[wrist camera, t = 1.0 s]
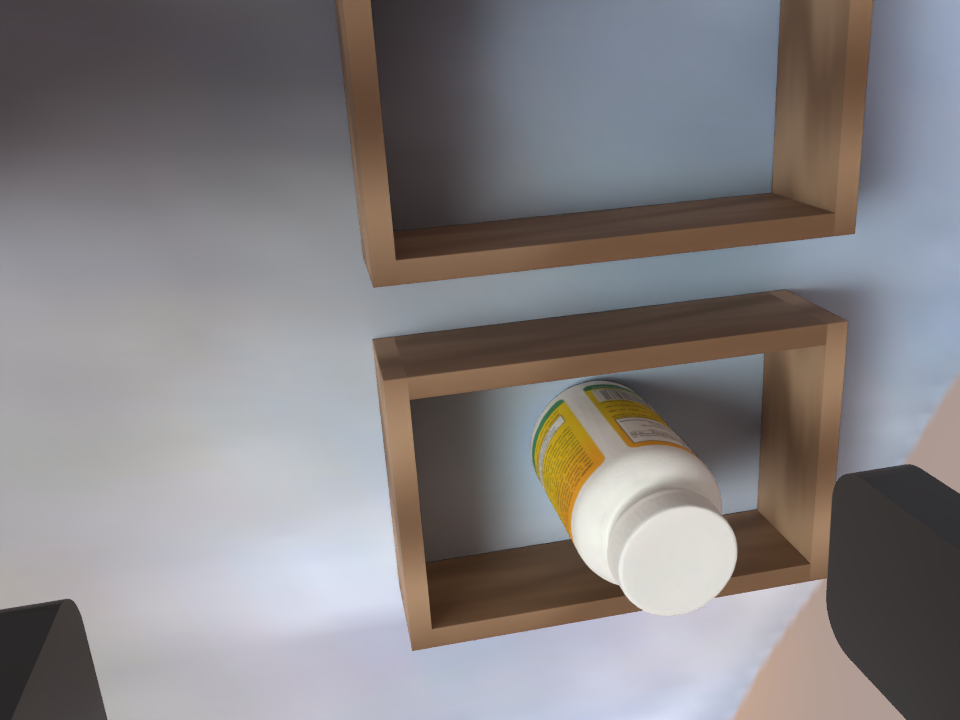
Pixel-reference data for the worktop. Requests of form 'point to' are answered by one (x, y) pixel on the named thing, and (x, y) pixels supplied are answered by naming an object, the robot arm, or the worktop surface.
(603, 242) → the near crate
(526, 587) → the far crate
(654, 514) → the supplement bottle
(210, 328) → the worktop surface
